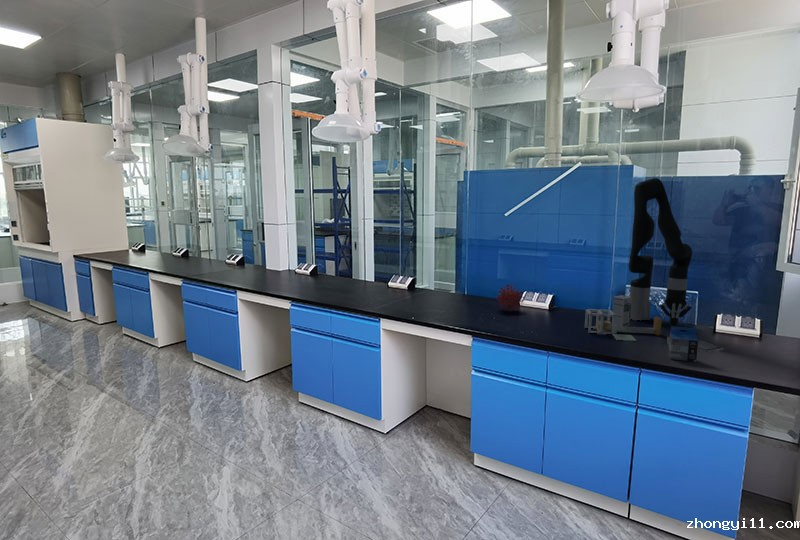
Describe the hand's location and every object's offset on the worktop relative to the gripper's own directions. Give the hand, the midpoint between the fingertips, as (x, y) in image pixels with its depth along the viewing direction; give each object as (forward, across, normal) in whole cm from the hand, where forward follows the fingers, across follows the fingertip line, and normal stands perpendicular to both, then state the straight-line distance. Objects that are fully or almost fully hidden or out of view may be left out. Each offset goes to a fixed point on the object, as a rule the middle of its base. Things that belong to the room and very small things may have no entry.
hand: (673, 325), depth 204 cm
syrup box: (+5, +19, -14) cm, 24 cm away
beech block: (+5, +29, 0) cm, 30 cm away
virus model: (+5, +72, -31) cm, 78 cm away
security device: (+6, -5, +13) cm, 15 cm away
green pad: (+5, +22, +10) cm, 25 cm away
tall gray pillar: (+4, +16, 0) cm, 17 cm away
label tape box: (+6, +7, +34) cm, 35 cm away
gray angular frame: (+5, +31, 0) cm, 32 cm away
